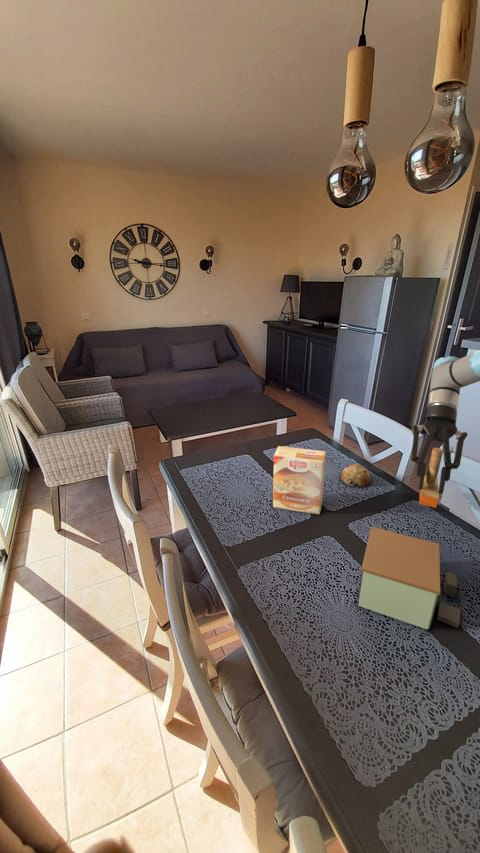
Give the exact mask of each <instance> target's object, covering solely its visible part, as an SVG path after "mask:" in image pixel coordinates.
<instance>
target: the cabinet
mask: <svg viewBox="0 0 480 853" xmlns="http://www.w3.org/2000/svg"><path fill="white" fill-rule="evenodd" d="M440 554H441V553H440V543H439V542H434V541H429V540H427V539H422V538H417V537H414V536H410V535H407V534H402V533H398V532H395V531H391V530H386V529H383V528H379V527H374V526H371V527H370V531H369V536H368V539H367V544H366V548H365V552H364V556H363V561H362V564H361V569H360V570H361V572H362V578H361V584H360V593H359V599H358V607H361V608H364V609H366V610H370V611H372V612H375V613H378V614H381V615H384V616H387V617H389V618H392V619H395V620H399V621H401V622H404V623H407V624H410V625H413V626H416V627H418V628H422V629H424V630H429V629H431V625H432V621H433V618H434V614H435V609H436V606H437V602H438V598H439V596H441V564H440V563H441V560H440V558H441V557H440Z"/></svg>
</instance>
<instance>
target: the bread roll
mask: <svg viewBox="0 0 480 853" xmlns="http://www.w3.org/2000/svg"><path fill="white" fill-rule="evenodd" d="M340 479H341V481H343V482H344V484H346V485H348V486H351V487H359V488H360V487H361V488H362V487H363V488H364V487H367V486H369V485H370V483H371V473H370V471H369V470H368V469H367V468H366V467H365V466H363V465H361V464H359V463H354V464H350V465H348V466H346V467H344V469H343V470H342V471H341V474H340Z"/></svg>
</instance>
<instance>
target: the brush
mask: <svg viewBox="0 0 480 853" xmlns="http://www.w3.org/2000/svg"><path fill="white" fill-rule="evenodd" d="M442 457H443V448H441V447H440V448H439V447H433V448H432V451H431V454H430V460H429V463H428V467H427V468H428V469H427V472H426V474H425V476H424V483H423V488H422V490H421V489H419V488H418V490H419V494H418V498H419V502H418V504H419V505H421V506H426V507H432V508H434V509H435V508H437V506H438V502H439V498H440V493H439V478H438V474H439V471H440V467H441V462H442Z"/></svg>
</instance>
